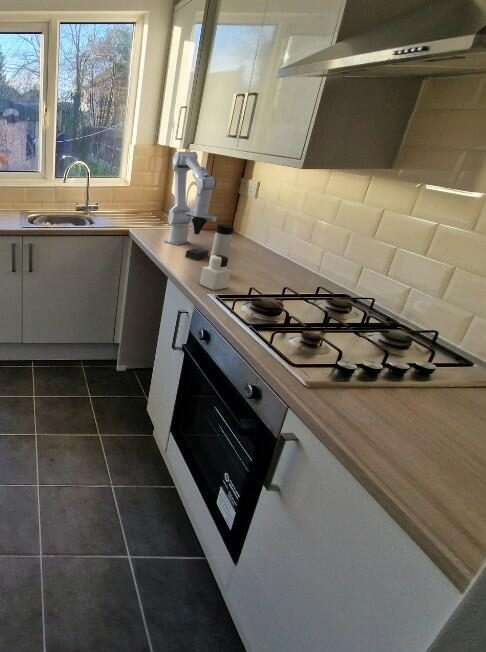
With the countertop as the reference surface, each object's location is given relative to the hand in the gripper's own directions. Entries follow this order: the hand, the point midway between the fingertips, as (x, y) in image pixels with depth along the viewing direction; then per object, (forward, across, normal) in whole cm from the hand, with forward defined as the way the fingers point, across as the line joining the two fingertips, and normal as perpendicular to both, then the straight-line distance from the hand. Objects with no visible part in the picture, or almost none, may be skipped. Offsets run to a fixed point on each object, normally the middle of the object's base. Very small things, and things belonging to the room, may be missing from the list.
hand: (196, 233), depth 192 cm
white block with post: (+10, +28, -32) cm, 44 cm away
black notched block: (+9, +4, -6) cm, 12 cm away
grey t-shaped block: (+9, +4, -1) cm, 10 cm away
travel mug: (+10, +20, -16) cm, 27 cm away
